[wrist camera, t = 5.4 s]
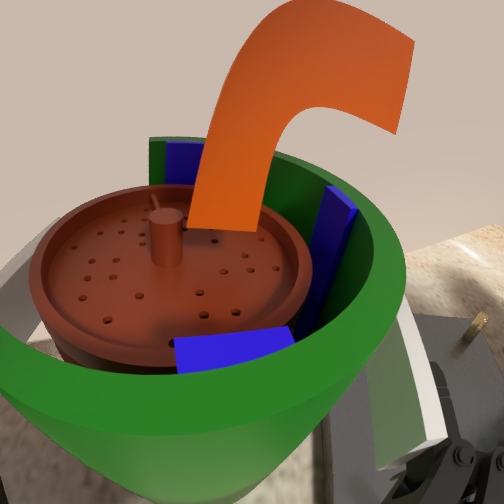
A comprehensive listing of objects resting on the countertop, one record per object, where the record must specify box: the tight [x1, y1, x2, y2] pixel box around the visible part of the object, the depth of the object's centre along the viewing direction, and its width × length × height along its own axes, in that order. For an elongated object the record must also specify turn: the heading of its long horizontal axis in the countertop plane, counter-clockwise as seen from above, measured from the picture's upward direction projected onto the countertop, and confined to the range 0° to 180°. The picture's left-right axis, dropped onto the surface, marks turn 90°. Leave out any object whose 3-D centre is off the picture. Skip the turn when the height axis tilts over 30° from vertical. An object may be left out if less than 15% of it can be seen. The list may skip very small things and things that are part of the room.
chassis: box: [322, 311, 504, 504], centre depth 16 cm, size 20×21×4 cm
